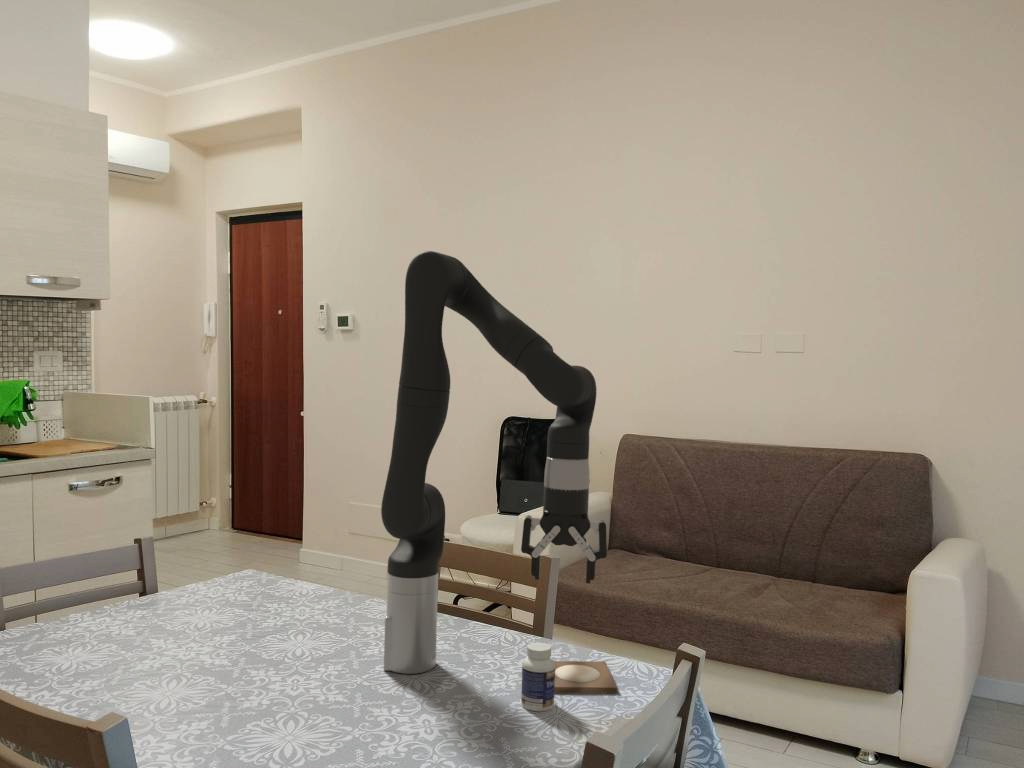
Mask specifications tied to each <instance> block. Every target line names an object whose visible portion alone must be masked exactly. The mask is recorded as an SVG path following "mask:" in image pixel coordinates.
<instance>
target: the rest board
mask: <svg viewBox="0 0 1024 768" xmlns="http://www.w3.org/2000/svg"><path fill="white" fill-rule="evenodd" d="M554 662H555V686H554V694H617V693H618V686H617V685H616V682H615V680H614V678H613V676H612V674H611V672H610V668H609V666H608V664H607V662H606V661H588V660H587V661H581V660H579V661H577V660H576V661H574V660H573V661H571V660H570V661H569V660H566V661H565V660H564V661H563V660H554Z"/></svg>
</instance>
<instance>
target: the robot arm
mask: <svg viewBox="0 0 1024 768" xmlns="http://www.w3.org/2000/svg"><path fill="white" fill-rule="evenodd" d="M445 308H448V309H450V310H452V311H453V312H456V313H457V314H459V315H460V316H462V317H463V318H465V319H466V320H468V321H469V322H470V323H471V324H472V325H473V326H474V327H476V329H477V330H478V332H480V333H481V334H482V336H483V337H484V339H485V340H486V341H487V343H488V344H489V345H490V347H491V348H492V349H493V350H494V351H495V352H496V353H497V354H498V355H500V356H501V358H503V359H504V360H505V361H506V362H508V364H510V365H511V366H512V367H514V369H516V370H518V371H519V372H520V373H521V374H522V375H524V376H525V377H526V379H527V380H528V382H529V383H530V384H531V385H532V386H533V388H535V390H536V391H537V392H538V393H539V394H540V395H541V396H542V397H543V398H544V399H545V400H546V401H548V403H551V404H552V405H554V406H556V413H555V419H554V421H553V422H552V423H551V424H550V426H549V427H548V431H547V443H546V461H545V467H544V478H543V505H542V509H543V510H542V516H541V517H540V518H539V517H532V516H531V515H526V516H525V517H524V520H523V526H522V535H521V536H522V537H521V546H520V547H521V548H520V550H521V553H523V554H526V555H529V556H530V558H531V562H530V563H531V565H530V567H531V568H530V573H531V576H532V577H534V580H535V581H540V577H541V561H542V559H541V558H542V557H541V554H542V552H543V551H544V550H545V549H546V548H547V547H548V546H549V545H550V544H553V545H555V546H563V545H565V546H568V547H574V546H575V545H577V546H578V547H579V548H580V550H581V551H582V552H583V554H584V555H585V556H586V557H587V558H586V574H585V576H586V577H585V584H591V581H594V579H595V578H596V577H595V576H596V574H595V573H596V562H597V560H600V559H605V558H606V557H607V553H608V551H607V550H608V549H607V547H608V546H607V545H608V544H607V522H606V521H605V520H604V519H600V520H599V521H593V520H592V521H590V519H589V500H590V499H589V497H590V496H589V495H590V493H589V492H590V491H589V490H590V481H591V480H590V479H591V478H590V465H589V464H590V463H589V459H590V458H589V457H590V456H589V455H590V449H589V448H590V429H591V427H592V421H593V417H594V412H595V407H596V401H597V400H596V399H597V382H596V379H595V377H594V375H593V373H592V372H591V371H590V370H589V369H588V368H586V367H585V366H580V365H571V364H569V363H568V362H566V361H565V360H564V359H562V358H561V357H560V356H559V355H558V354H557V353H555V352H554V347H553V346H552V345H551V343H549V341H547V340H546V339H545V338H544V337H543V336H542V335H540V334H539V333H538V332H537V331H536V330H534V329H533V328H532V327H530V326H529V325H528V324H527V323H526V322H525V321H523V320H521V319H520V318H519V317H518V316H517V315H515V314H514V313H512V312H511V311H510V310H509V309H508V308H506V307H505V306H504V305H503V304H502V303H500V302H499V301H498V300H497V299H496V298H495V297H494V296H493V295H492V294H491V293H490V292H489V291H488V290H487V288H485V287H484V286H483V285H482V283H481V282H480V281H479V280H478V279H477V278H476V277H475V276H474V274H473V273H472V272H471V271H470V270H469V268H467V266H465V264H464V263H463V262H462V261H461V260H460V259H458V258H456V257H454V256H451V255H448V254H444V253H441V252H437V251H432V250H424V251H420V252H419V253H418V254H416V255H415V256H414V257H413V258H412V259H411V261H410V263H409V264H408V267H407V270H406V273H405V283H404V336H403V344H402V353H401V354H402V355H401V366H400V374H399V381H398V390H397V399H396V415H395V424H394V431H393V439H392V445H391V446H392V447H391V456H390V461H389V466H388V471H387V476H386V480H385V486H384V490H383V495H382V500H381V507H380V508H381V512H380V513H381V521H382V524H383V526H384V528H385V530H386V532H387V533H388V534H389V535H391V536H392V537H393V538H396V539H398V542H397V546H396V547H395V549H394V550H393V551H392V552H391V554H390V555H389V556H388V560H387V582H386V583H387V585H386V587H387V589H386V614H385V618H384V642H383V643H384V645H383V650H384V651H383V671H390V672H393V673H397V674H403V675H404V674H406V675H407V674H410V675H411V674H420V673H425V672H428V671H431V670H432V669H434V668H435V667H436V665H437V664H436V663H437V636H438V635H437V629H438V595H439V593H438V590H439V589H438V588H439V587H438V586H439V564H440V560H441V558H442V556H443V554H444V553H443V551H444V542H445V530H446V529H445V527H446V506H445V500H444V497H443V495H442V493H441V492H440V490H439V489H438V488H437V487H436V486H434V485H433V484H431V483H428V482H426V477H427V476H426V475H427V469H428V465H429V460H430V457H431V454H432V452H433V450H434V449H435V448H434V447H435V445H436V443H437V441H438V439H439V437H440V435H441V432H442V431H443V427H444V426H445V422H446V420H447V415H448V410H449V403H450V393H451V373H450V368H449V362H448V359H447V354H446V351H445V347H444V342H443V321H444V313H445V312H444V311H445ZM537 526H539V527H540V529H541V530H542V531H543V533H544V535H543V536H542V538H541V539H540V540H539V542H537V544H536V545H535V546H533V545H530V544H531V537H532V535H531V534H532V532H534V531H535V530H536V528H537ZM590 529H593V532H594V534H595V535H598V541H599V542H598V544H599V545H598V547H599V549H597V550H594V548H593V547H592V546H591V544H590V543H589V541H588V539H587V538H586V537H585V536H586V534H587V533H588V531H589V530H590Z"/></svg>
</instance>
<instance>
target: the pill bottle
mask: <svg viewBox="0 0 1024 768" xmlns="http://www.w3.org/2000/svg"><path fill="white" fill-rule="evenodd" d="M554 661H555V660H554V659H553V658H552V646H551V645H550V644H548V643H544V642H531V643H528V645H526V657H524V659H523V661H522V665H521V701H520V702H521V706H522V707H523V708H524V709H526V710H529V711H532V712H545V711H548V710H551V709H553V707H554V705H555V693H554V686H555V662H554Z"/></svg>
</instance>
